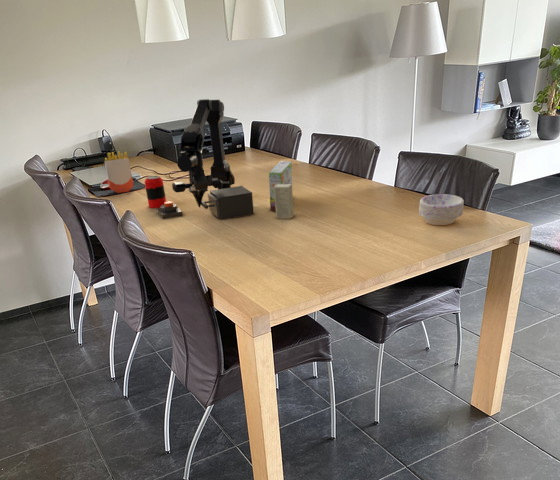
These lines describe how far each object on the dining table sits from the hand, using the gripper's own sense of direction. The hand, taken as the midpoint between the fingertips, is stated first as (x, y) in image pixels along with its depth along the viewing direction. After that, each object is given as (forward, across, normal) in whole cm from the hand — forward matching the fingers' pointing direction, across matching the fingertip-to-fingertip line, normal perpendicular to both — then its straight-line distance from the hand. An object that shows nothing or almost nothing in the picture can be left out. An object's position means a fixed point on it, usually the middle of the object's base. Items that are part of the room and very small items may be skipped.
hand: (199, 207), depth 226 cm
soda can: (+5, -12, +27) cm, 30 cm away
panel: (+4, -10, +11) cm, 16 cm away
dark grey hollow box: (+4, +13, -1) cm, 14 cm away
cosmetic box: (+3, +29, -18) cm, 34 cm away
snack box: (+3, +35, 0) cm, 35 cm away
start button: (+1, -10, +11) cm, 15 cm away
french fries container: (+5, -23, +63) cm, 67 cm away
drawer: (+3, +9, -1) cm, 10 cm away
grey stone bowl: (+1, +76, -53) cm, 93 cm away
